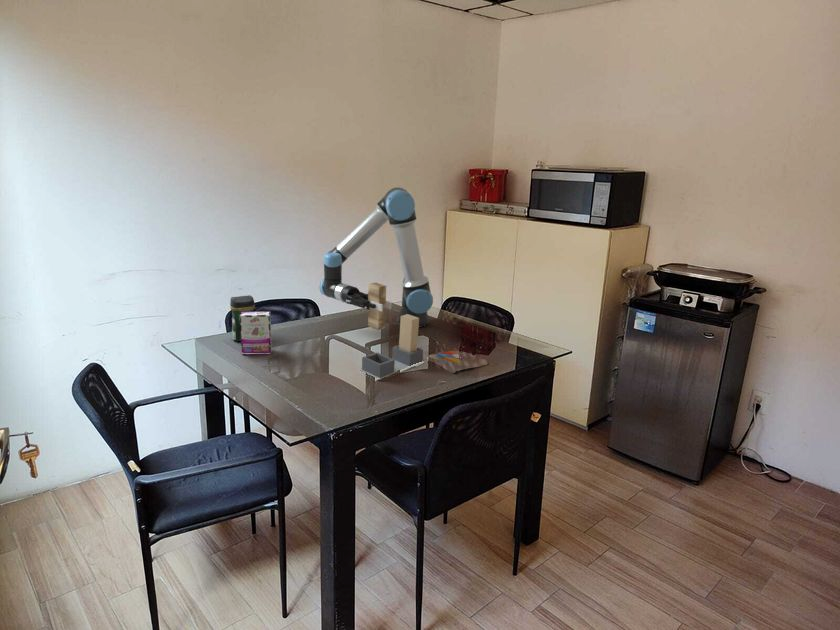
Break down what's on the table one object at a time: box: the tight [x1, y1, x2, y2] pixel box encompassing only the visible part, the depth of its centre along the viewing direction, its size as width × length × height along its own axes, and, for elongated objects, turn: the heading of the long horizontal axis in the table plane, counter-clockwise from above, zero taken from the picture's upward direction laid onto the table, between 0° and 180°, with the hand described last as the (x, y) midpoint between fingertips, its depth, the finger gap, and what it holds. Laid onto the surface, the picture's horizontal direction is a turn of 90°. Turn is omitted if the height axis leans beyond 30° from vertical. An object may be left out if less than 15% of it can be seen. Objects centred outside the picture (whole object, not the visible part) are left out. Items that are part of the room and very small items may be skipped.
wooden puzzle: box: [427, 350, 461, 363], centre depth 222 cm, size 18×19×4 cm
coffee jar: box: [229, 294, 256, 342], centre depth 229 cm, size 10×8×19 cm
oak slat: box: [367, 282, 387, 331], centre depth 224 cm, size 4×6×18 cm, turn 48°
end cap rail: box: [359, 314, 424, 378], centre depth 210 cm, size 25×10×19 cm, turn 138°
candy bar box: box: [240, 311, 272, 354], centre depth 216 cm, size 11×5×16 cm, turn 102°
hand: (386, 306), depth 220 cm, fingers closed on oak slat, 4 cm apart
